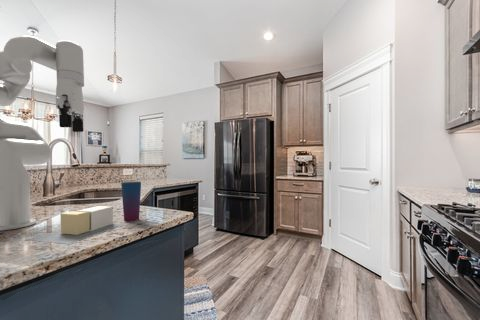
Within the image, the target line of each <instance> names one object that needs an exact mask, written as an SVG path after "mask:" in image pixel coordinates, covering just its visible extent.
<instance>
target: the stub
mask: <svg viewBox="0 0 480 320" xmlns="http://www.w3.org/2000/svg"><path fill="white" fill-rule="evenodd" d="M60 230H61V234H73V235H78V234H81V233H84V232H87V231H89V211H78V210H72V211H67V212H62V213H60Z"/></svg>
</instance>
